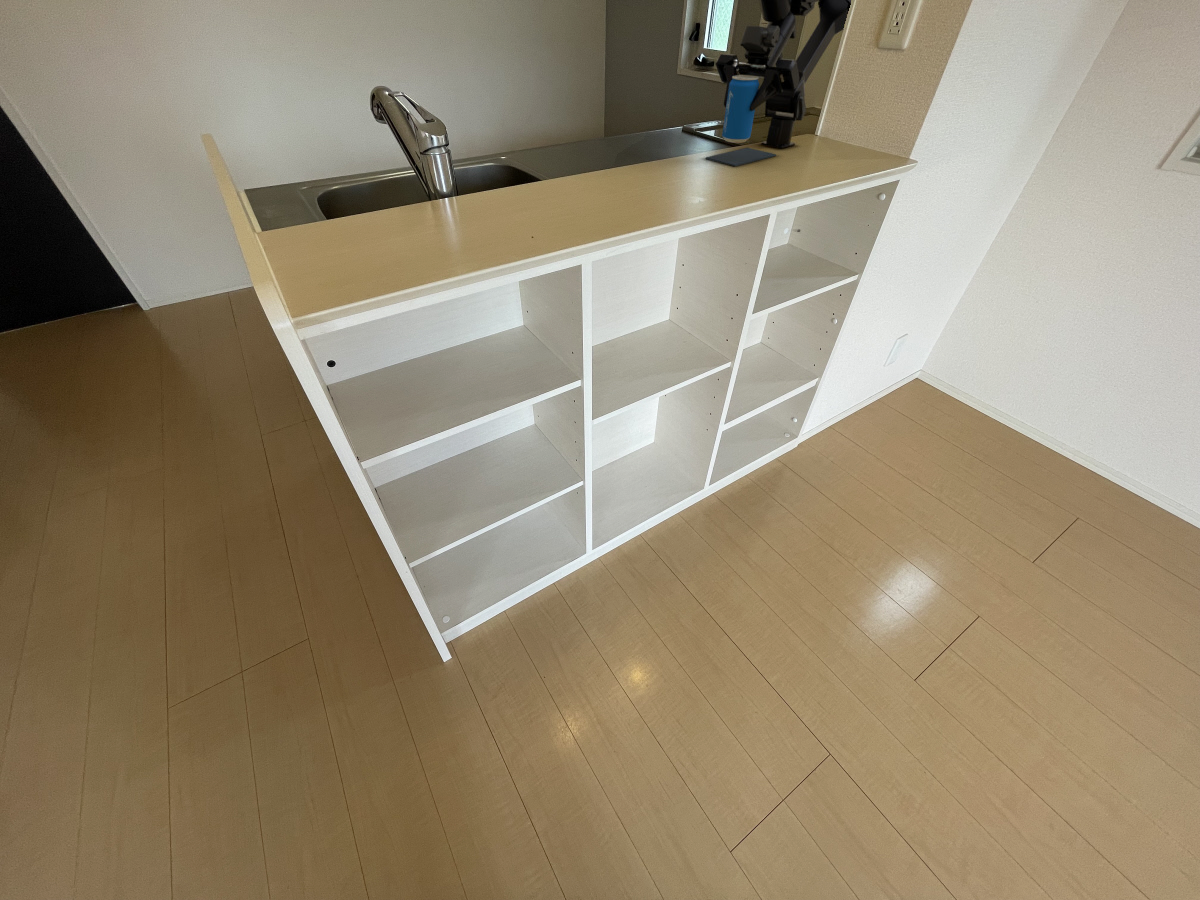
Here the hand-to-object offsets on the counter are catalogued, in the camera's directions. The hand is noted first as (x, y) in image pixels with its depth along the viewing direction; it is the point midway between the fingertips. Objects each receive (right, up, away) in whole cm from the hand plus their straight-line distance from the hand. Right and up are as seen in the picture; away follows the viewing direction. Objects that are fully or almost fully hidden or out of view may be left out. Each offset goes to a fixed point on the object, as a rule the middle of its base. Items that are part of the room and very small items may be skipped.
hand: (737, 107), depth 113 cm
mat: (+4, -5, +11) cm, 13 cm away
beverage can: (+1, -4, +5) cm, 7 cm away
